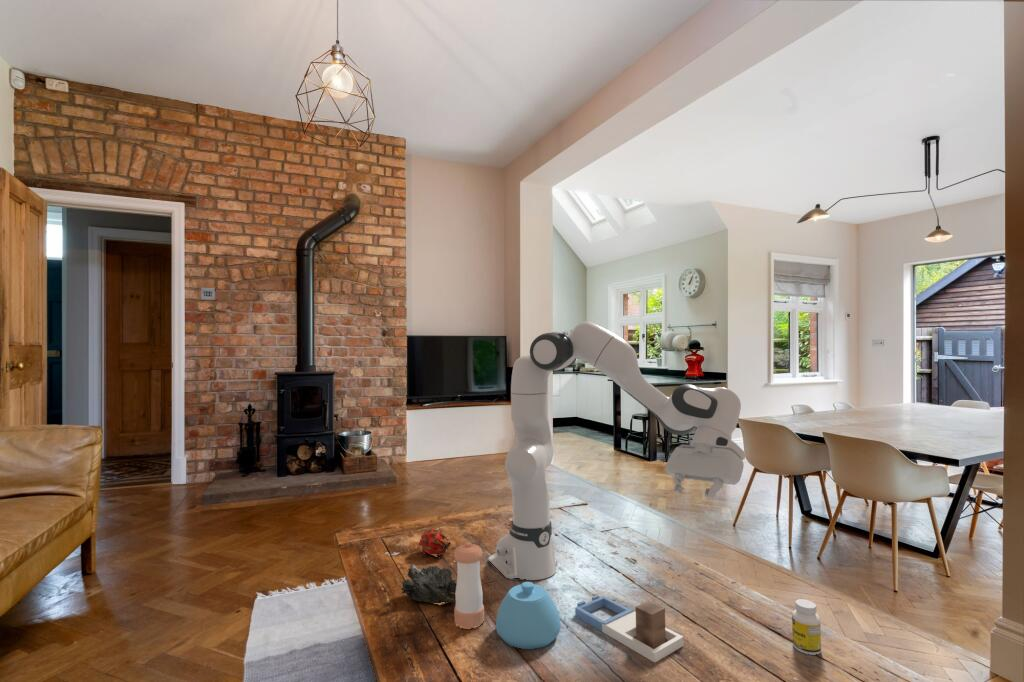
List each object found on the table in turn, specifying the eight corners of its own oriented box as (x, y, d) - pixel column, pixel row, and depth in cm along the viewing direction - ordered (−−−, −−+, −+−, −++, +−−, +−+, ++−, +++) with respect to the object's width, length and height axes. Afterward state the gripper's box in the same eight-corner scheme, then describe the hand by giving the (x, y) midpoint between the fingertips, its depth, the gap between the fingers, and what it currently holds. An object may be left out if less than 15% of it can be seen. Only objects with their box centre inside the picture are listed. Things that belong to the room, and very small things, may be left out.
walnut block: (636, 642, 116) (635, 606, 116) (649, 635, 118) (648, 600, 119) (652, 652, 112) (651, 615, 112) (665, 644, 115) (664, 608, 115)
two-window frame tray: (573, 614, 128) (573, 604, 128) (601, 602, 134) (601, 592, 134) (654, 662, 108) (654, 651, 108) (683, 645, 114) (683, 634, 114)
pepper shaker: (456, 613, 130) (455, 537, 130) (485, 613, 129) (484, 536, 130) (452, 629, 122) (451, 548, 122) (483, 629, 122) (481, 548, 122)
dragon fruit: (424, 552, 172) (446, 568, 164) (407, 544, 167) (430, 559, 159) (437, 529, 175) (460, 543, 167) (422, 520, 170) (445, 534, 162)
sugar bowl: (511, 660, 110) (510, 605, 110) (486, 625, 124) (485, 577, 124) (572, 643, 116) (571, 591, 116) (542, 612, 130) (541, 565, 130)
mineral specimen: (395, 592, 130) (412, 551, 135) (398, 596, 141) (413, 558, 147) (453, 613, 130) (466, 571, 135) (451, 615, 141) (464, 576, 146)
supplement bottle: (787, 642, 115) (786, 598, 115) (810, 640, 115) (809, 596, 116) (803, 656, 110) (802, 610, 110) (827, 655, 110) (826, 608, 110)
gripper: (670, 437, 141) (652, 483, 135) (738, 440, 123) (720, 493, 118) (684, 450, 143) (667, 495, 137) (752, 454, 126) (736, 507, 120)
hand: (692, 494), depth 127 cm, fingers open, 8 cm apart
